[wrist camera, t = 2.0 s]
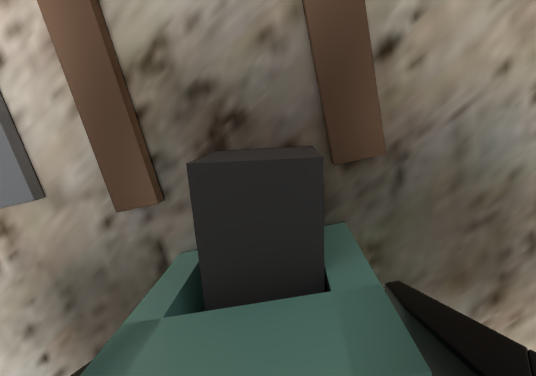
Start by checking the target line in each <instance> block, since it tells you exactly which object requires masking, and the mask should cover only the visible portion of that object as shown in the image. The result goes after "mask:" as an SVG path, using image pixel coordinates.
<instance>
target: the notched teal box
mask: <svg viewBox="0 0 536 376" xmlns="http://www.w3.org/2000/svg"><path fill="white" fill-rule="evenodd" d="M324 275H325V279H326V284H327V289H328V292H324V293H318V294H311V295H305V296H299V297H292V298H286V299H280V300H273V301H267V302H261V303H254V304H248V305H242V306H235V307H229V308H223V309H216V310H210V311H205V304H204V296H203V288H202V281H201V273H200V265H199V257H198V250H194V251H188V252H183V253H180V254H179V256H178V257H177V258H176V259H175V260H174V262H173V263H172V264H171V265H170V267H169V268H168V269H167V270H166V271H165V273H164V274H163V275H162V276H161V278H160V279H159V280H158V281H157V282H156V284H155V285H154V286H153V287H152V288H151V290H150V291H149V292H148V293H147V295H146V296H145V297H144V298H143V299H142V301H141V302H140V303H139V304H138V305H137V307H136V308H135V309H134V310H133V312H132V313H131V314H130V315H129V316H128V318H127V319H126V320H125V321H124V323H123V324H122V325H121V326H120V327H119V329H118V330H117V331H116V332H115V333H114V335H113V336H112V337H111V338H110V340H109V341H108V342H107V343H106V344H105V346H104V347H103V348H102V349H101V350H100V352H99V353H98V354H97V355H96V357H95V358H94V359H93V360H92V361H91V363H90V364H89V365H88V366H87V368H86V369H85V370H84V371H83V372H82V374H81V375H80V376H432V373H431V370H430V368H429V367H428V365H427V363H426V362H425V360H424V358H423V356H422V355H421V353H420V351H419V349H418V348H417V346H416V344H415V342H414V341H413V339H412V337H411V336H410V334H409V332H408V330H407V329H406V327H405V325H404V323H403V322H402V320H401V318H400V316H399V315H398V313H397V311H396V310H395V308H394V306H393V304H392V303H391V301H390V299H389V297H388V296H387V294H386V292H385V291H384V289H383V287H382V285H381V284H380V282H379V280H378V278H377V277H376V275H375V273H374V271H373V270H372V268H371V266H370V265H369V263H368V261H367V259H366V258H365V256H364V254H363V252H362V251H361V249H360V247H359V245H358V244H357V242H356V240H355V239H354V237H353V235H352V233H351V232H350V230H349V228H348V226H347V225H346V223H345V222H342V223H337V224H332V225H326V226H324Z"/></svg>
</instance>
